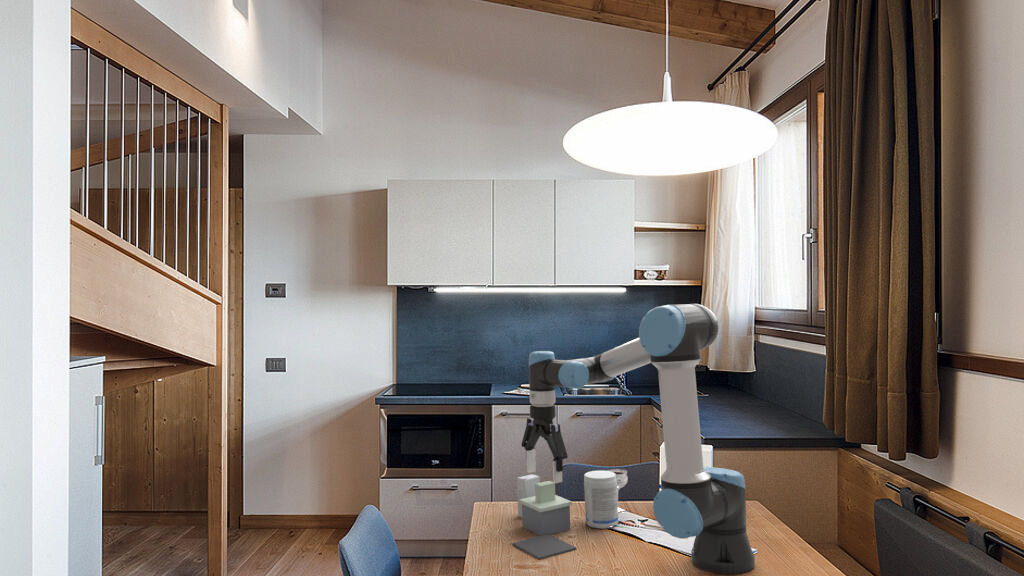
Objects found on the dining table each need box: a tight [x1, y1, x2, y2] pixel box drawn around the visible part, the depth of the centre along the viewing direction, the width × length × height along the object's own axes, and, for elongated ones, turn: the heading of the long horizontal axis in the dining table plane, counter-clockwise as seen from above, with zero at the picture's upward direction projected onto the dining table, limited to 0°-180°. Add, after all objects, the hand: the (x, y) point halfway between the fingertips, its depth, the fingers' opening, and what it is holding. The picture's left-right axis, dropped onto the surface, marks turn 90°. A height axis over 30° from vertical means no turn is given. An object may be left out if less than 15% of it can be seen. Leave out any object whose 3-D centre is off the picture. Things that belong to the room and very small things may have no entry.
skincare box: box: [516, 473, 541, 518], centre depth 212 cm, size 6×4×12 cm
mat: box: [512, 534, 577, 560], centre depth 186 cm, size 13×12×1 cm
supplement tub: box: [583, 470, 619, 530], centre depth 202 cm, size 10×10×15 cm
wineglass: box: [606, 468, 629, 512], centre depth 215 cm, size 7×7×12 cm
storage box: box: [521, 504, 571, 536], centre depth 201 cm, size 10×10×7 cm
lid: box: [519, 480, 573, 512], centre depth 201 cm, size 11×11×7 cm
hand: (544, 477), depth 201 cm, fingers open, 13 cm apart
